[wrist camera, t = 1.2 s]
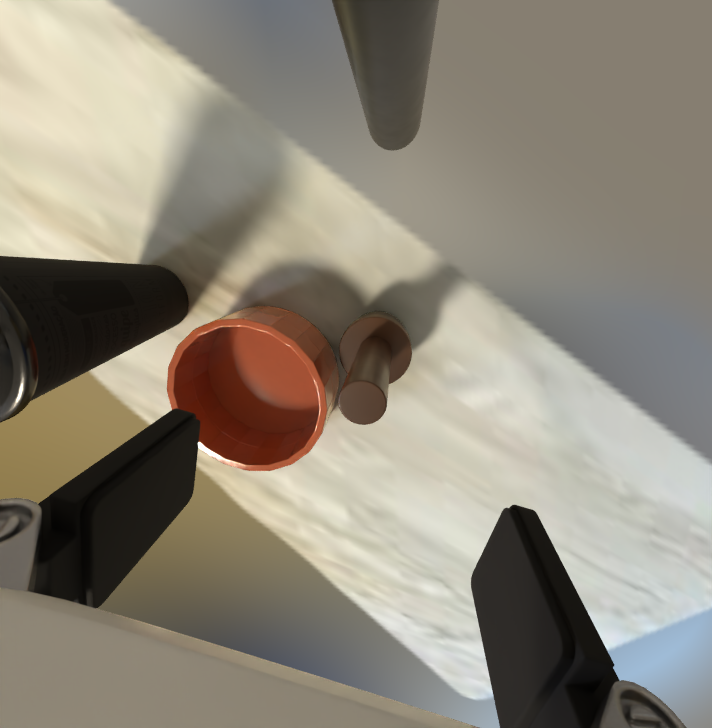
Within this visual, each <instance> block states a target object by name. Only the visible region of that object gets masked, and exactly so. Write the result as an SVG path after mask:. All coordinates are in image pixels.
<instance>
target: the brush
mask: <svg viewBox="0 0 712 728" xmlns="http://www.w3.org/2000/svg"><path fill="white" fill-rule="evenodd" d="M339 356H340V360H341V363H342V366H343V367H344V369H345V371H346V372H347V373H348V375H347V377H346V380H345V382H344V384H343V387H342V389H341V392H340V394H339V398H338V404H339V408H340V410H341V412H342V414H343V415H344V416H345V417H346V418H347V419H348V420H350V421H351V422H353V423H356V424H362V425H366V424H371V423H374V422H376V421H377V420H379V419H380V418H381V417H382V416H383V414H384V413H385V411H386V407H387V398H388V387H389V384H390V383H393V382H394V381H396V380H398V379H399V378H400V377H401V376H402V375H403V374H404V373H405V371H406V370H407V368H408V366H409V364H410V361H411V356H412V348H411V341H410V338H409V335H408V333H407V331H406V329H405V327H404V325H403V324H402V323H401V321H400V320H399V319H398V318H396V317H395V316H393V315H391V314H389V313H386V312H382V311H374V312H369V313H366V314H364V315H362V316H361V317H359V318H358V319H357V320H355V321H354V322H353V323H352V324H351V325H350V326H349V327H348V328H347V330H346V331H345V333H344V334H343V336H342V338H341V341H340V346H339Z"/></svg>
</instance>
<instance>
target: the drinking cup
mask: <svg viewBox="0 0 712 728" xmlns="http://www.w3.org/2000/svg"><path fill="white" fill-rule="evenodd" d="M187 309H188V297H187V293H186V290H185V288H184V286H183V284H182V282H181V281H180V280H179V278H178V277H177V276H176V275H175V274H174V273H172V272H171V271H169V270H168V269H166V268H164V267H161V266H156V265H142V264H125V263H108V262H91V261H75V260H58V259H41V258H25V257H8V256H0V422H2V421H5V420H7V419H10V418H11V417H13V416H15V415H17V414H18V413H19V412H20V411H22V410H23V409H24V408H25V407H26V406H27V405H28V403H29V402H30V401H31V400H33V399H35V398H37V397H39V396H41V395H43V394H45V393H47V392H49V391H51V390H52V389H55V388H56V387H58V386H60V385H62V384H64V383H66V382H68V381H70V380H71V379H74V378H75V377H78V376H79V375H81V374H83V373H85V372H87V371H89V370H91V369H93V368H95V367H97V366H99V365H101V364H103V363H105V362H107V361H108V360H110V359H112V358H114V357H116V356H118V355H120V354H122V353H124V352H126V351H128V350H130V349H132V348H133V347H135V346H137V345H139V344H141V343H143V342H145V341H147V340H149V339H151V338H153V337H155V336H157V335H158V334H160V333H162V332H164V331H166V330H168V329H170V328H172V327H174V326H176V325H177V324H179V323H180V322H181V321H182V320H183V319H184V317H185V315H186V313H187Z"/></svg>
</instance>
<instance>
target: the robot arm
mask: <svg viewBox="0 0 712 728" xmlns="http://www.w3.org/2000/svg"><path fill="white" fill-rule="evenodd" d="M199 434H200V420H198V419H196V414H194V413H191V412H188V411H184V410H181V409H177V408H175V409H173V410H172V411H170V412H169V413H167V414H166V415H164V416H163V417H161V418H160V419H159V420H157V421H156V422H154V423H153V424H151V425H150V426H148V427H147V428H146V429H144V430H143V431H141V432H140V433H138V434H137V435H136V436H134V437H133V438H131V439H130V440H128V441H127V442H125V443H124V444H123V445H121V446H120V447H118V448H117V449H116V450H114V451H112V452H111V453H110V454H108V455H107V456H105V457H104V458H102V459H101V460H100V461H98V462H97V463H95V464H94V465H92V466H91V467H89V468H88V469H87V470H85V471H84V472H82V473H81V474H80V475H78V476H77V477H75V478H74V479H72V480H71V481H69V482H68V483H66V484H65V485H63V486H62V487H61V488H59V489H58V490H56V491H55V492H54V493H52V494H51V495H50V496H49V497H47V498H46V499H44V500H43V501H42V502H40V503H39V504H37V503H36V502H33V501H31V500H28V499H21V498H11V499H1V500H0V728H478V727H475V726H472V725H469V724H466V723H463V722H460V721H457V720H454V719H450V718H448V717H444V716H441V715H438V714H435V713H432V712H428V711H426V710H423V709H420V708H416V707H413V706H410V705H407V704H404V703H401V702H398V701H395V700H391V699H388V698H385V697H382V696H379V695H375V694H373V693H370V692H366V691H363V690H360V689H357V688H354V687H350V686H347V685H344V684H341V683H338V682H335V681H331V680H328V679H325V678H322V677H319V676H315V675H312V674H309V673H306V672H303V671H299V670H296V669H293V668H290V667H287V666H283V665H280V664H277V663H274V662H271V661H268V660H264V659H261V658H258V657H255V656H252V655H248V654H245V653H242V652H239V651H235V650H232V649H229V648H226V647H222V646H219V645H216V644H212V643H209V642H206V641H203V640H199V639H196V638H193V637H190V636H186V635H183V634H180V633H177V632H173V631H170V630H167V629H164V628H160V627H157V626H154V625H151V624H147V623H144V622H141V621H138V620H134V619H130V618H127V617H124V616H120V615H117V614H113V613H110V612H106V611H103V610H99V609H96V608H98V607H99V606H101V605H102V603H104V601H105V600H106V599H107V598H108V597H109V596H110V594H111V593H112V592H113V591H114V590H115V588H116V587H117V586H118V585H119V584H120V583H121V581H122V580H123V579H124V578H125V577H126V575H127V574H128V573H129V572H130V571H131V570H132V568H133V567H134V566H135V565H136V564H137V563H138V561H139V560H140V559H141V558H142V557H143V556H144V554H145V553H146V552H147V551H148V550H149V548H150V547H151V546H152V545H153V544H154V542H155V541H156V540H157V539H158V538H159V536H160V535H161V534H162V533H163V532H164V531H165V529H166V528H167V527H168V526H169V525H170V524H171V522H172V521H173V520H174V519H175V518H176V517H177V515H178V514H179V513H180V512H181V511H182V510H183V508H184V507H185V506H186V505H187V504H188V502H189V500H190V499H191V497H192V494H193V490H194V481H195V471H196V462H197V452H198V443H199ZM471 588H472V593H473V598H474V603H475V608H476V613H477V617H478V622H479V627H480V632H481V637H482V642H483V647H484V651H485V656H486V661H487V666H488V671H489V676H490V681H491V685H492V690H493V695H494V700H495V705H496V710H497V714H498V719H499V724H500V728H686V726H685V725H684V724H683V723H682V722H681V720H680V719H679V718H678V717H677V716H676V714H675V713H674V712H673V711H672V710H671V709H670V708H669V707H668V706H667V705H666V704H664V703H663V702H662V701H661V700H660V699H659V698H658V697H657V696H655V695H654V694H652V693H651V692H650V691H648V690H647V689H646V688H644V687H641V686H640V685H638V684H636V683H633V682H629V681H624V680H622V681H619V679H618V677H617V675H616V673H615V671H614V669H613V666H614V663H613V661H612V660H611V657H610V655H609V654H608V652H607V650H606V648H605V646H604V644H603V642H602V640H601V638H600V636H599V634H598V632H597V630H596V628H595V626H594V624H593V622H592V620H591V618H590V616H589V615H588V613H587V611H586V609H585V607H584V605H583V603H582V601H581V599H580V597H579V595H578V593H577V591H576V589H575V587H574V585H573V583H572V581H571V579H570V577H569V576H568V574H567V572H566V570H565V568H564V566H563V564H562V562H561V560H560V558H559V556H558V554H557V552H556V550H555V548H554V546H553V544H552V542H551V540H550V538H549V537H548V535H547V533H546V531H545V529H544V527H543V525H542V523H541V521H540V519H539V517H538V515H537V513H536V512H535V511H534V510H531V509H528V508H524V507H521V506H517V505H512V506H511V507H510V508H505V509H504V510H503V511H502V513H501V515H500V518H499V520H498V522H497V524H496V526H495V528H494V530H493V532H492V534H491V536H490V538H489V540H488V542H487V545H486V547H485V549H484V551H483V553H482V555H481V557H480V559H479V561H478V563H477V565H476V567H475V569H474V571H473V574H472V578H471Z"/></svg>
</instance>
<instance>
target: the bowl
mask: <svg viewBox="0 0 712 728" xmlns="http://www.w3.org/2000/svg"><path fill="white" fill-rule="evenodd" d="M338 387H339V371H338V365H337V361H336V358H335V355H334V353H333V350H332V348H331V347H330V345H329V343H328V341H327V340H326V339H325V337H324V336H323V334H322V333H321V332H320V331H319V330H318V329H317V328H316V327H315V326H314V325H313V324H311V323H310V322H309V321H308V320H306V319H305V318H303V317H301V316H300V315H298V314H296V313H294V312H291V311H289V310H286V309H283V308H278V307H272V306H257V307H251V308H245V309H242V310H240V311H237V312H235V313H232V314H230V315H227V316H225V317H222V318H220V319H217V320H215V321H213V322H210V323H208V324H206V325H203V326H201V327H199V328H196V329H195V330H193V331H192V332H191V333H190V334H189V335H188V336H187V337H186V338H185V339H184V340H183V341H182V342H181V343H180V344H179V345H178V346H177V348H176V351H175V353H174V355H173V358H172V360H171V362H170V364H169V367H168V381H167V392H168V396H169V400H170V404H171V408H172V410H173V409H175V408H177V409H181V410H184V411H188V412H191V413H194V414H196V419H198V420H200V434H199V443H198V447H199V448H200V449H201V450H202V451H204V452H205V453H206V454H208V455H210V456H211V457H213V458H215V459H217V460H218V461H220V462H222V463H223V464H226V465H230V466H233V467H237V468H240V469H243V470H248V471H271V470H275V469H278V468H281V467H285V466H288V465H291V464H293V463H294V462H296V461H297V460H299V459H300V458H301V457H303V456H304V455H306V454H307V453H309V451H310V450H311V449H312V448H313V446H314V445H315V443H316V442H317V440H318V439H319V437H320V436H321V434H322V432H323V430H324V427H325V425H326V423H327V420H328V418H329V416H330V413H331V411H332V409H333V406H334V403H335V399H336V396H337V393H338Z"/></svg>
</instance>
